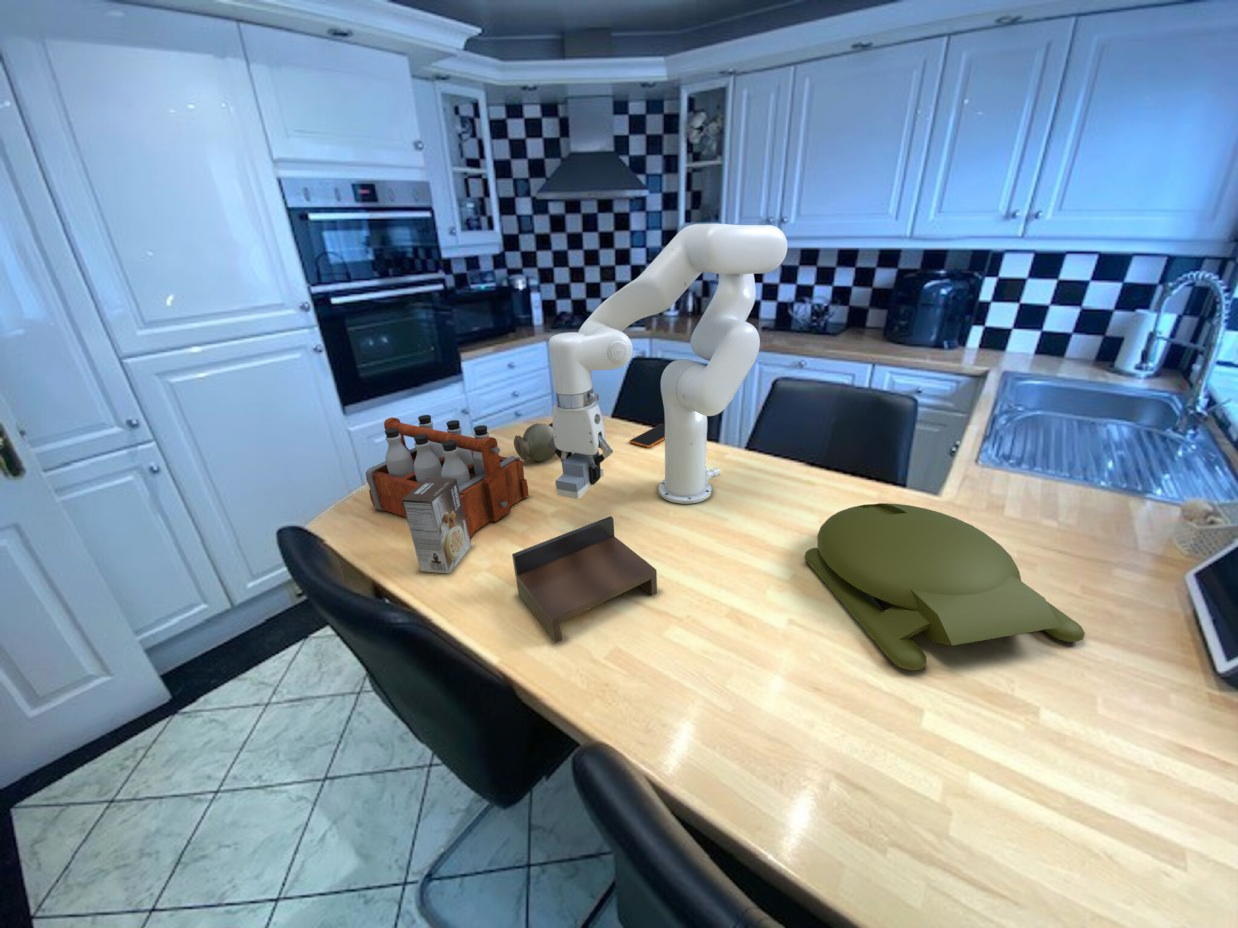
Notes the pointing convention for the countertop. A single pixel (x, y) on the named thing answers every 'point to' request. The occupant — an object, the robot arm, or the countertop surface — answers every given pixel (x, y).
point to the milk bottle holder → (447, 470)
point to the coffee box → (437, 524)
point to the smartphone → (650, 437)
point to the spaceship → (927, 581)
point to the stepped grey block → (574, 476)
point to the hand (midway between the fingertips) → (583, 479)
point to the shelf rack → (578, 573)
